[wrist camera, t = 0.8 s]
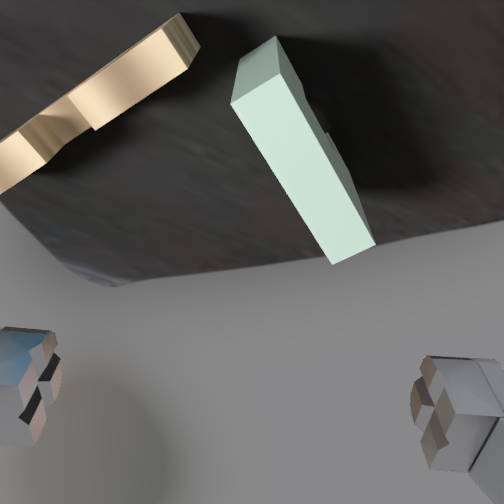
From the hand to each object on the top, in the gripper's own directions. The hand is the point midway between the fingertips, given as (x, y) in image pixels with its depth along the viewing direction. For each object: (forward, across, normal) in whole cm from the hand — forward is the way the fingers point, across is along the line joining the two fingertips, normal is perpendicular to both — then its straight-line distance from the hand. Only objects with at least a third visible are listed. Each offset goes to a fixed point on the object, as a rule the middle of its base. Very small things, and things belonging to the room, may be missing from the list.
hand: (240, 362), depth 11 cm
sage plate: (+35, -4, +5) cm, 36 cm away
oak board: (+35, +14, +5) cm, 38 cm away
